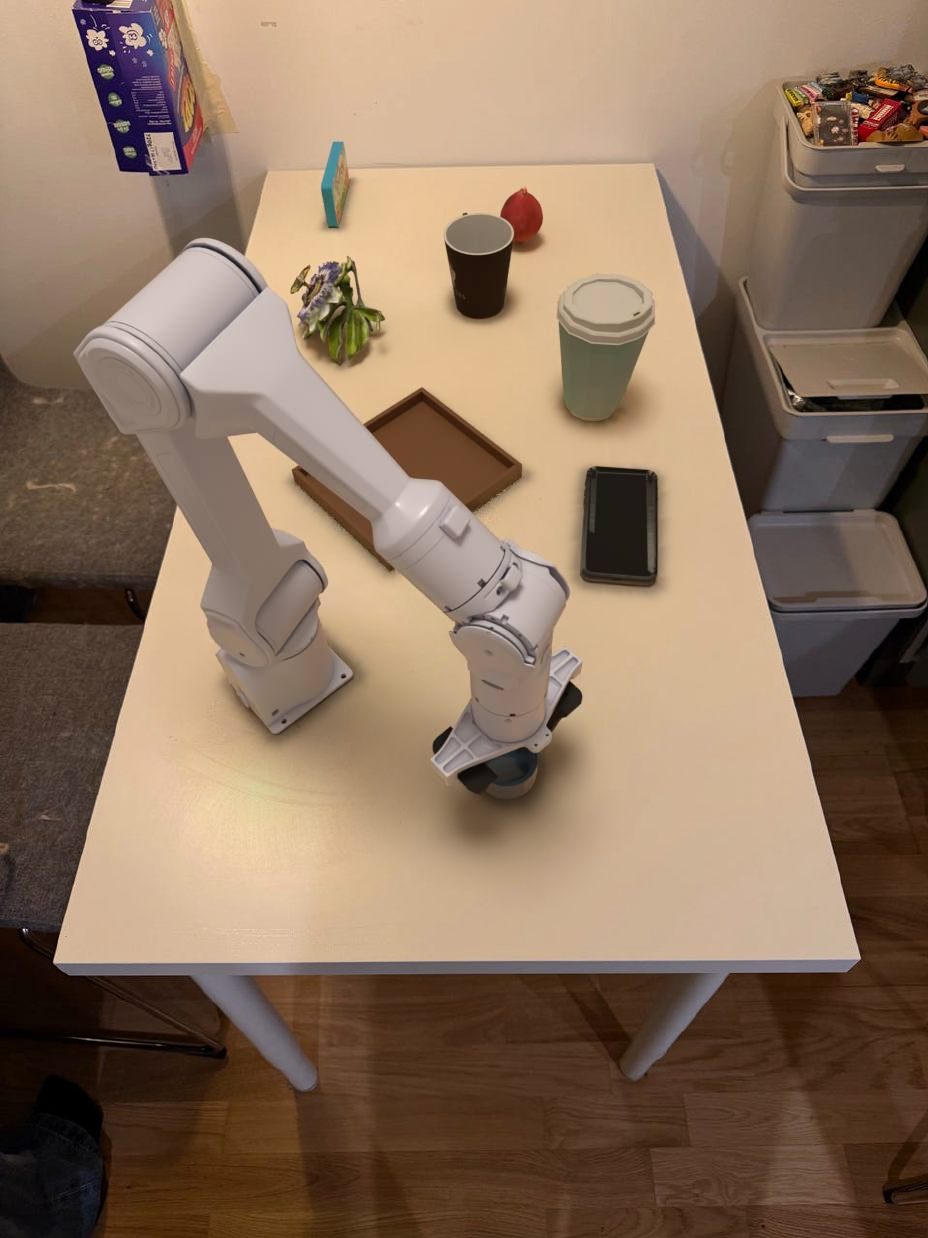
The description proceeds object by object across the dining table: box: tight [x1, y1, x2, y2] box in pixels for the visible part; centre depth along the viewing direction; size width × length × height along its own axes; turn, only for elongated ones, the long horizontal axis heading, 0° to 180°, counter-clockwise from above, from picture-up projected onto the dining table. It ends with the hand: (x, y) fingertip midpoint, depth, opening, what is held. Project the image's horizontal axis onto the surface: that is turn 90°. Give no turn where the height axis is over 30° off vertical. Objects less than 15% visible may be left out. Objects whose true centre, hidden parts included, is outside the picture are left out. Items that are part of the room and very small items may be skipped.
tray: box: [291, 386, 523, 572], centre depth 94 cm, size 19×17×2 cm
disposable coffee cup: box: [555, 273, 656, 422], centre depth 94 cm, size 11×11×15 cm
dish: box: [484, 747, 539, 801], centre depth 74 cm, size 5×5×3 cm
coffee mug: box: [443, 212, 514, 320], centre depth 108 cm, size 12×9×10 cm
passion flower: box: [289, 255, 386, 365], centre depth 105 cm, size 11×11×12 cm
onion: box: [499, 186, 544, 244], centre depth 115 cm, size 6×6×8 cm
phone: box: [579, 465, 659, 587], centre depth 90 cm, size 8×1×15 cm
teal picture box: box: [320, 141, 350, 228], centre depth 122 cm, size 12×2×6 cm, turn 176°
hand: (507, 756), depth 73 cm, fingers open, 7 cm apart
